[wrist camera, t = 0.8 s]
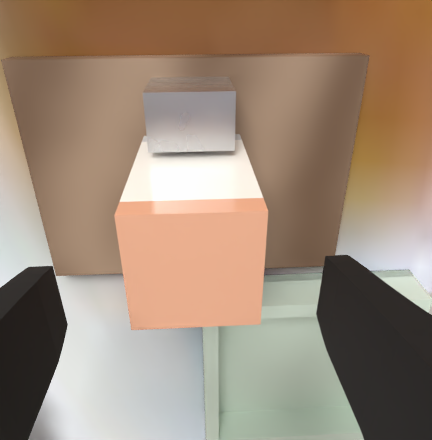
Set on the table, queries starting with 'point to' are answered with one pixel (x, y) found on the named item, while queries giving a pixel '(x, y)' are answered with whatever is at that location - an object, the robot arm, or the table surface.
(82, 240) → the clip board
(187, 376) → the table surface
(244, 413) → the tray
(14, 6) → the table surface
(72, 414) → the table surface
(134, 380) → the table surface
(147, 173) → the white and orange block
